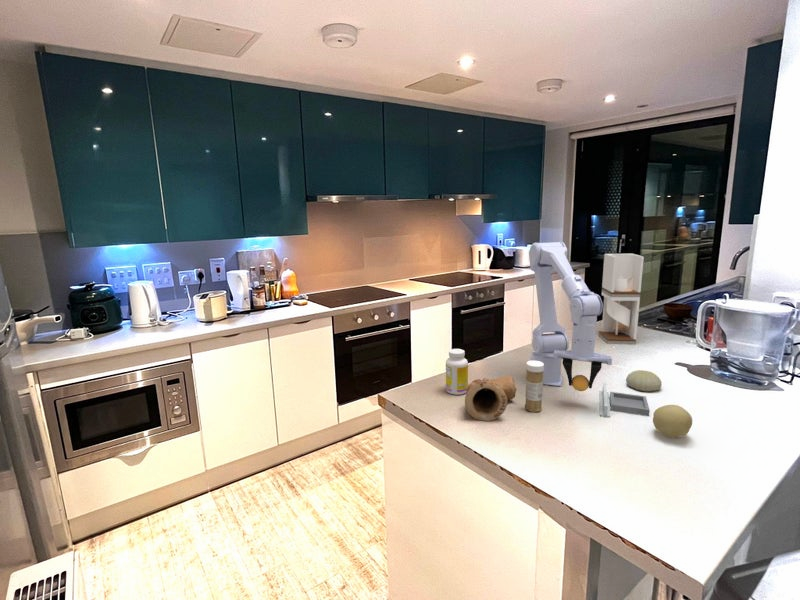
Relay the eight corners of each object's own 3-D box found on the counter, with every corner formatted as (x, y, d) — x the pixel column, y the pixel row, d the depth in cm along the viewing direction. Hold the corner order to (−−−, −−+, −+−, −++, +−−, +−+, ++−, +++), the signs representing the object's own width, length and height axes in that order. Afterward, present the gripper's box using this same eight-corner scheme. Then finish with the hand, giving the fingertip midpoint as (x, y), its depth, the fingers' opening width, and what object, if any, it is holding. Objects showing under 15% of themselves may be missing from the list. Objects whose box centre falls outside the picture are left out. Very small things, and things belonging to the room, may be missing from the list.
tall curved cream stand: (598, 335, 182) (604, 253, 175) (624, 336, 180) (632, 253, 173) (607, 343, 171) (614, 256, 164) (635, 344, 169) (643, 256, 162)
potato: (690, 448, 97) (695, 415, 95) (650, 439, 101) (654, 408, 99) (689, 433, 103) (693, 402, 101) (652, 425, 107) (655, 395, 105)
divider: (600, 416, 112) (601, 405, 112) (599, 392, 127) (600, 382, 126) (610, 417, 111) (611, 406, 111) (608, 393, 126) (609, 384, 125)
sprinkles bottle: (533, 403, 120) (535, 358, 117) (545, 410, 116) (547, 363, 113) (521, 407, 118) (522, 361, 116) (532, 414, 114) (534, 366, 112)
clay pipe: (452, 418, 121) (477, 427, 106) (446, 381, 122) (470, 384, 107) (509, 405, 126) (540, 412, 112) (503, 370, 127) (533, 371, 113)
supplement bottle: (470, 388, 132) (470, 349, 129) (464, 397, 126) (464, 355, 123) (449, 385, 134) (449, 346, 132) (442, 393, 129) (442, 353, 126)
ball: (570, 392, 117) (571, 377, 116) (571, 386, 121) (572, 371, 120) (588, 395, 115) (589, 379, 114) (588, 388, 119) (589, 373, 118)
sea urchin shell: (669, 388, 124) (650, 369, 124) (647, 404, 126) (628, 385, 126) (657, 376, 133) (639, 358, 133) (636, 392, 135) (618, 374, 135)
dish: (610, 410, 115) (611, 404, 115) (609, 397, 123) (610, 391, 123) (649, 416, 112) (649, 410, 111) (645, 401, 120) (645, 396, 119)
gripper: (553, 340, 114) (551, 387, 117) (614, 346, 108) (609, 395, 111) (555, 333, 121) (553, 377, 123) (612, 338, 115) (608, 385, 118)
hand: (580, 385), depth 118 cm, fingers closed on ball, 4 cm apart
